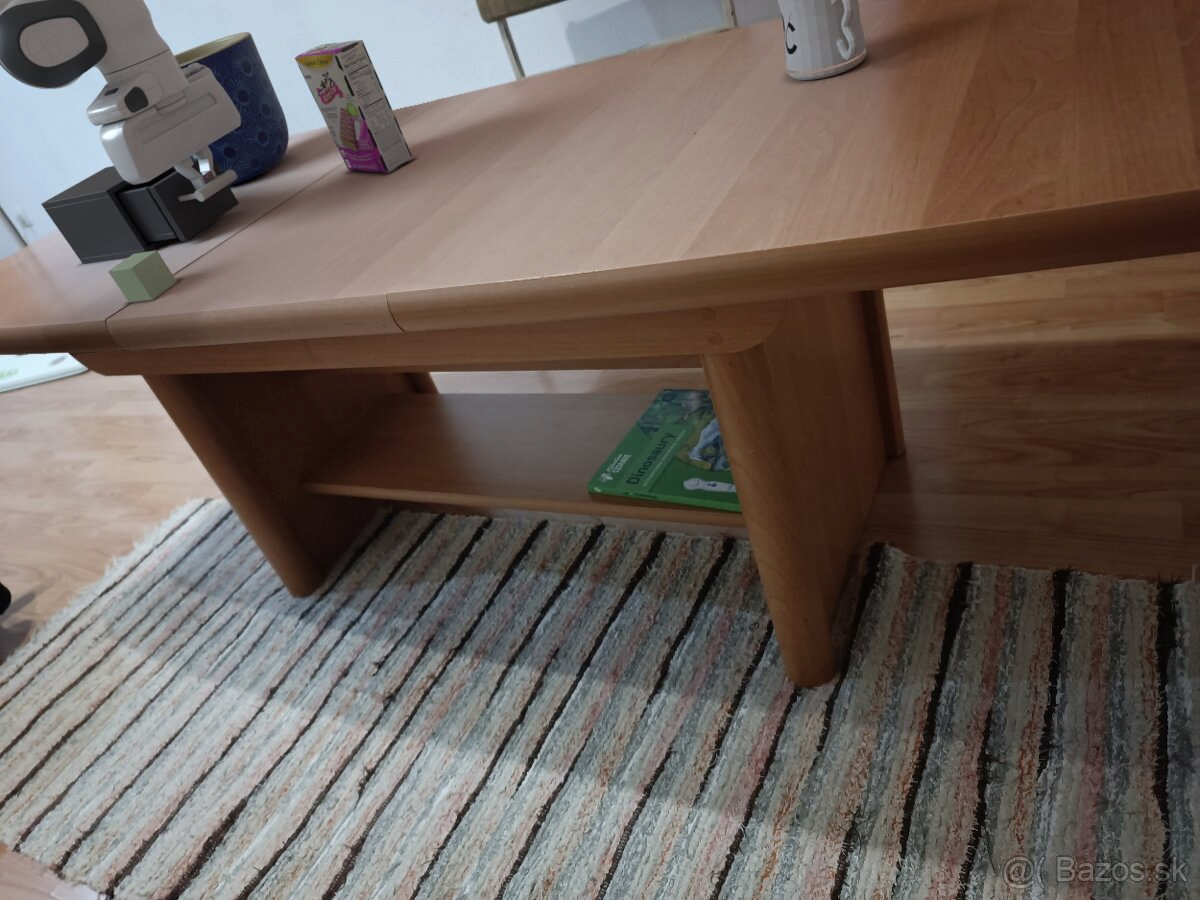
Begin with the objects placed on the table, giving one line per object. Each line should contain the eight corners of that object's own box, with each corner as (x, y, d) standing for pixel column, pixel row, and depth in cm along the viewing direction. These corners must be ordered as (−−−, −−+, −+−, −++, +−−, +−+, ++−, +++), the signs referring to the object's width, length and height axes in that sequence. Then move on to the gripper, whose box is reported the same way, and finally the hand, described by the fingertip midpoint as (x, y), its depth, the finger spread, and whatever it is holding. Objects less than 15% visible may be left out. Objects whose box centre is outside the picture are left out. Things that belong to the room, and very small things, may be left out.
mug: (775, 74, 104) (760, -16, 98) (845, 48, 104) (834, -43, 99) (820, 94, 94) (806, -5, 88) (897, 64, 94) (889, -36, 89)
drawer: (263, 199, 125) (235, 146, 120) (211, 236, 117) (179, 181, 112) (176, 214, 133) (147, 165, 128) (122, 250, 125) (89, 199, 121)
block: (152, 300, 105) (131, 267, 102) (129, 302, 107) (107, 271, 104) (177, 281, 108) (157, 250, 105) (154, 284, 110) (133, 253, 107)
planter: (302, 168, 137) (239, 43, 126) (179, 213, 137) (106, 92, 126) (312, 137, 154) (257, 24, 143) (202, 177, 154) (139, 67, 143)
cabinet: (205, 214, 131) (170, 153, 126) (147, 254, 123) (106, 190, 117) (142, 225, 138) (105, 167, 132) (82, 263, 129) (40, 203, 124)
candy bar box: (346, 173, 126) (291, 57, 117) (373, 158, 129) (321, 43, 119) (387, 175, 119) (332, 51, 110) (415, 159, 121) (363, 37, 112)
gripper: (187, 62, 120) (240, 158, 128) (74, 118, 106) (141, 222, 114) (219, 53, 117) (271, 152, 125) (108, 109, 103) (174, 217, 111)
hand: (208, 186), depth 119 cm, fingers closed, pressing on drawer
